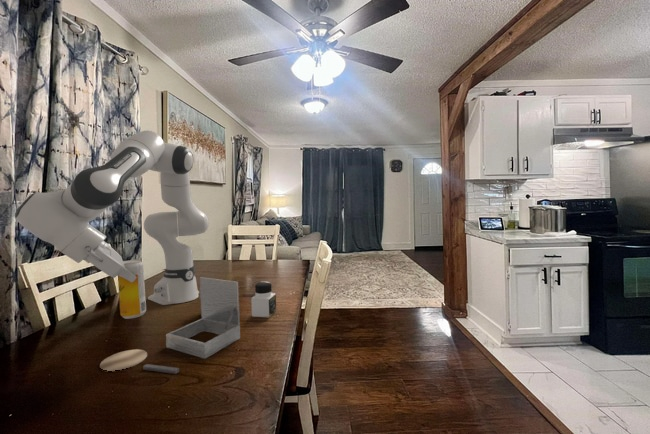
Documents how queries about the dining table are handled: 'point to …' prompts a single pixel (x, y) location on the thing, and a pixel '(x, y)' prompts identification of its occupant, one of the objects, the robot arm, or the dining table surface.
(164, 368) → the bar
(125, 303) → the beer can
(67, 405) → the dining table surface
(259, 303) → the medicine bottle
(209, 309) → the case
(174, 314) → the dining table surface
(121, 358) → the pad
